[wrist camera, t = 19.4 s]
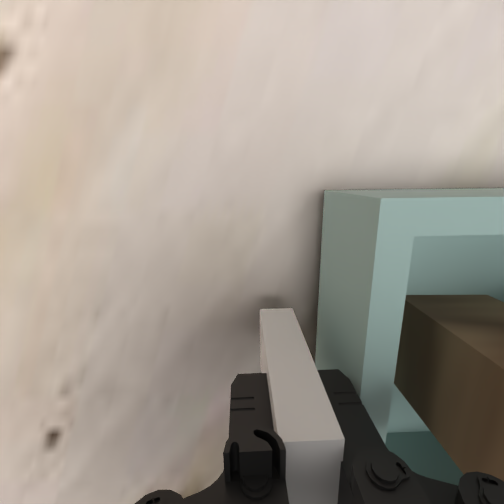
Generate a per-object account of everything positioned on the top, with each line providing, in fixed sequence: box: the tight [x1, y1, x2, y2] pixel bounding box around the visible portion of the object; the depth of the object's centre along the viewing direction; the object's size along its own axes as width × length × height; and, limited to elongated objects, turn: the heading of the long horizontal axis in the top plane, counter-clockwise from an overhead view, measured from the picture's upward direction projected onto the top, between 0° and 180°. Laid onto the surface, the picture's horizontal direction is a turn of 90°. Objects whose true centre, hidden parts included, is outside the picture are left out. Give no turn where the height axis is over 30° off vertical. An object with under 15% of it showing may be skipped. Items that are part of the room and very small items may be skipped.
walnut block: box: [394, 295, 504, 481], centre depth 10 cm, size 4×4×6 cm
